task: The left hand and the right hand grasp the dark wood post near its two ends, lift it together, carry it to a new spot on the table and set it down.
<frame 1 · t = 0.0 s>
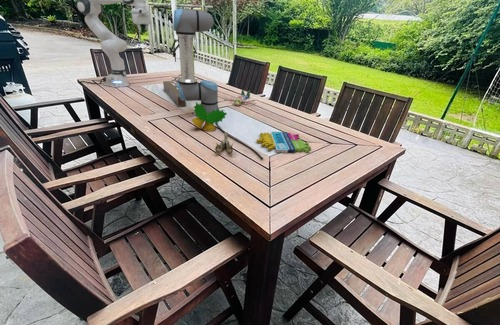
left hand: (143, 30, 214), 48 cm above the table, tool pointing down, fingers open, 8 cm apart
right hand: (184, 61, 211), 28 cm above the table, tool pointing down, fingers open, 13 cm apart
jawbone: (224, 151, 138), on the table
post: (173, 97, 219), on the table
ornament: (209, 128, 165), on the table
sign: (281, 143, 152), on the table
toy: (241, 101, 221), on the table
airplane: (184, 83, 266), on the table
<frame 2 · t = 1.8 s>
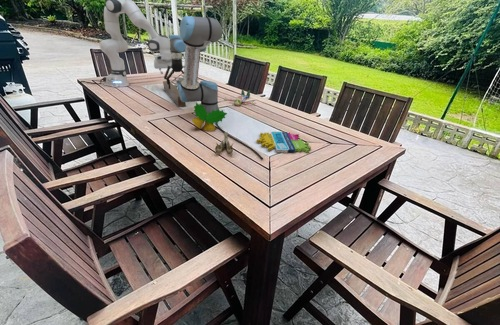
left hand: (167, 73, 226), 16 cm above the table, tool pointing down, fingers open, 8 cm apart
right hand: (178, 88, 199), 12 cm above the table, tool pointing down, fingers open, 13 cm apart
nothing on the table moved.
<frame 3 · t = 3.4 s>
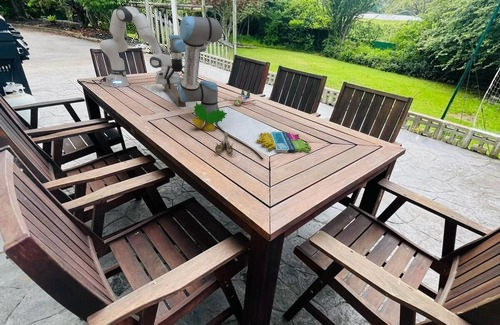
left hand: (168, 88, 233), 3 cm above the table, tool pointing down, fingers closed on post, 5 cm apart
right hand: (178, 88, 199), 12 cm above the table, tool pointing down, fingers open, 13 cm apart
post: (173, 97, 219), on the table, touching left hand
everything else where it was.
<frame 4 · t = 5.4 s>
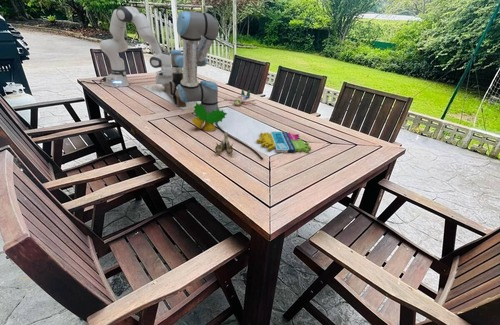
left hand: (168, 88, 233), 3 cm above the table, tool pointing down, fingers closed on post, 5 cm apart
right hand: (179, 103, 205), 1 cm above the table, tool pointing down, fingers closed on post, 6 cm apart
post: (173, 97, 219), on the table, touching right hand, left hand
everything else where it was.
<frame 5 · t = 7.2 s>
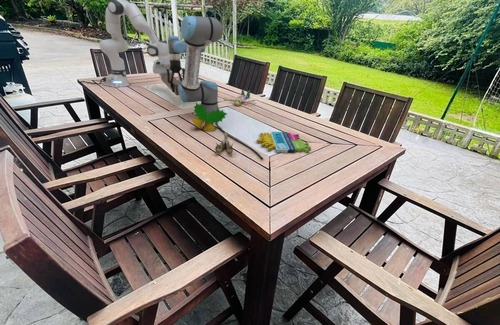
left hand: (166, 78, 227), 12 cm above the table, tool pointing down, fingers closed on post, 5 cm apart
right hand: (177, 91, 199), 10 cm above the table, tool pointing down, fingers closed on post, 6 cm apart
post: (171, 86, 214), point 9 cm above the table, touching right hand, left hand
everything else where it was.
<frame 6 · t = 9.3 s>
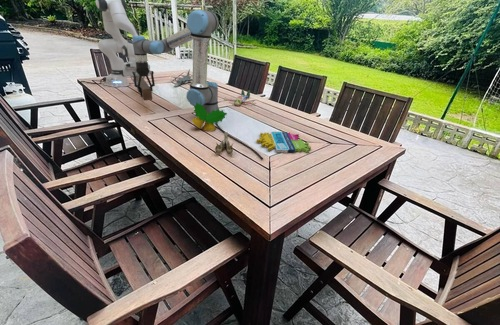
left hand: (138, 81, 212), 11 cm above the table, tool pointing down, fingers closed on post, 5 cm apart
right hand: (146, 96, 183), 10 cm above the table, tool pointing down, fingers closed on post, 6 cm apart
post: (142, 90, 198), point 9 cm above the table, touching right hand, left hand
everything else where it was.
when the right hand's fingers open (2 cm above the table, at t = 10.7 s): post drops 1 cm, on the table.
when the left hand's fingers open (4 cm above the table, at t = 10.9 s): post stays where it is, on the table.
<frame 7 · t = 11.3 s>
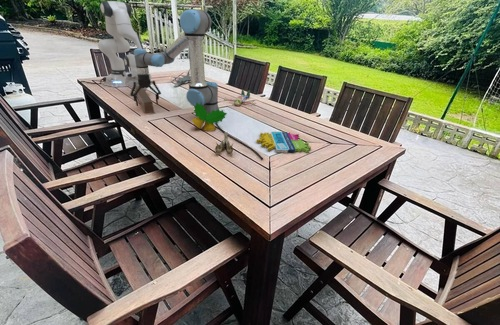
left hand: (139, 91, 215), 4 cm above the table, tool pointing down, fingers open, 8 cm apart
right hand: (147, 104, 186), 4 cm above the table, tool pointing down, fingers open, 13 cm apart
post: (143, 102, 203), on the table
everything else where it was.
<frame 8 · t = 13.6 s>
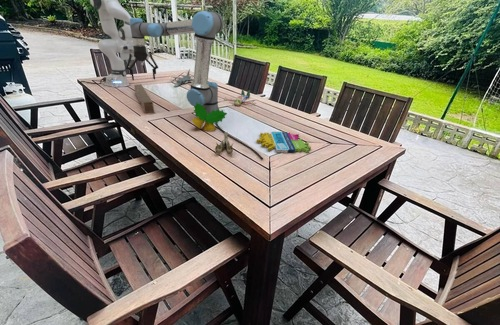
left hand: (136, 65, 205), 24 cm above the table, tool pointing down, fingers open, 8 cm apart
right hand: (143, 79, 178), 21 cm above the table, tool pointing down, fingers open, 13 cm apart
nothing on the table moved.
at the end: post inside the target area (0.2 cm from its centre), on the table; post tilted 0°; post never tilted more than 1° during the clip; both hands held the post at the same time; the left hand is holding nothing; the right hand is holding nothing; post at rest at the end (0.0 cm/s) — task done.
